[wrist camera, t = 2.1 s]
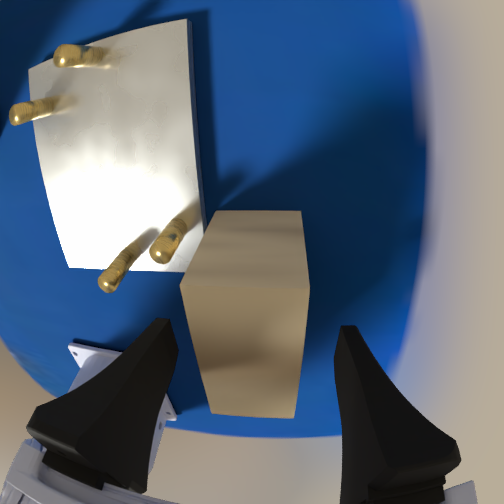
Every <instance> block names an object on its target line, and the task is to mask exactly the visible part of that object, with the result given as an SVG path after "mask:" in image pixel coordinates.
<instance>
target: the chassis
mask: <svg viewBox="0 0 504 504" xmlns="http://www.w3.org/2000/svg"><path fill="white" fill-rule="evenodd" d="M29 87H30V98H31V101H27V102H23V103H19V104H15V105H13V106H12V107H11V109H10V112H9V119H10V122H11V123H12V124H13V125H19V124H22V123H25V122H28V121H32V120H33V124H34V131H35V138H36V144H37V150H38V155H39V160H40V165H41V170H42V175H43V179H44V184H45V188H46V192H47V196H48V200H49V204H50V208H51V211H52V215H53V218H54V222H55V225H56V229H57V232H58V235H59V238H60V241H61V244H62V247H63V250H64V253H65V256H66V259H67V262H68V265H69V267H80V268H99V269H105V270H104V272H103V273H102V274H101V275H100V277H99V278H98V285H99V286H100V288H101V289H102V290H103V291H105V292H107V293H112V292H114V291H115V289H116V288H117V287H118V285H119V284H120V282H121V281H122V279H123V278H124V277H125V275H126V274H127V272H128V271H129V270H143V271H168V272H186V270H187V268H188V266H189V264H190V262H191V260H192V258H193V256H194V254H195V252H196V250H197V248H198V246H199V243H200V241H201V239H202V237H203V235H204V233H205V231H206V229H207V220H206V211H205V201H204V191H203V181H202V170H201V159H200V148H199V135H198V122H197V109H196V94H195V77H194V58H193V35H192V22H191V21H189V20H188V19H183V20H177V21H172V22H167V23H162V24H157V25H153V26H148V27H144V28H140V29H136V30H132V31H129V32H125V33H121V34H118V35H115V36H111V37H108V38H105V39H102V40H99V41H96V42H93V43H90V44H87V45H71V44H63V45H61V46H59V47H58V48H57V49H56V51H55V53H54V56H53V58H52V59H50V60H47V61H45V62H43V63H41V64H39V65H37V66H35V67H33V68H31V69H29Z"/></svg>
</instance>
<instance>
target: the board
mask: <svg viewBox="0 0 504 504" xmlns="http://www.w3.org/2000/svg"><path fill="white" fill-rule="evenodd" d="M180 289H181V294H182V298H183V303H184V307H185V312H186V316H187V321H188V325H189V329H190V334H191V338H192V342H193V346H194V350H195V354H196V358H197V362H198V366H199V369H200V373H201V377H202V381H203V384H204V388H205V391H206V395H207V399H208V402H209V405H210V409H211V412H212V413H213V414H223V415H234V416H248V417H266V418H294V413H295V407H296V400H297V394H298V387H299V379H300V372H301V365H302V357H303V349H304V340H305V332H306V323H307V313H308V303H309V293H310V284H309V275H308V266H307V257H306V248H305V240H304V232H303V224H302V216H301V211H216V212H215V214H214V215H213V217H212V219H211V221H210V223H209V225H208V227H207V229H206V231H205V233H204V235H203V237H202V239H201V241H200V243H199V246H198V248H197V250H196V252H195V254H194V256H193V258H192V260H191V262H190V264H189V266H188V268H187V270H186V272H185V274H184V277H183V279H182V281H181V283H180Z"/></svg>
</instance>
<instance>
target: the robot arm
mask: <svg viewBox="0 0 504 504" xmlns="http://www.w3.org/2000/svg"><path fill="white" fill-rule="evenodd" d="M68 348H69V350H70V351H71V353H72V355H73V357H74V358H75V360H76V361H77V363H78V365H79V366H80V368H81V369H80V370H79V372H78V374H77V376H76V378H75V380H74V381H73V383H72V385H71V387H70V389H69V391H68V393H67V394H65V395H63V396H61V397H59V398H57V399H54V400H52V401H50V402H48V403H45V404H42V405H40V406H38V407H36V409H35V411H34V413H33V415H32V417H31V419H30V421H29V422H28V424H27V426H26V429H27V431H28V433H29V434H30V435H31V436H32V437H33V438H32V439H25V440H24V442H23V443H22V444H21V446H20V448H19V450H18V452H17V454H16V456H15V458H14V460H13V462H12V464H11V467H10V469H9V471H8V474H7V477H6V479H5V482H4V485H3V489H2V493H1V496H0V504H178V503H174V502H169V501H165V500H161V499H157V498H153V497H149V496H145V495H142V493H144V492H146V491H147V479H148V474H149V473H150V472H151V470H152V468H153V465H154V461H155V458H156V454H157V450H158V447H159V444H160V440H161V437H162V434H163V430H164V427H165V423H166V420H172V421H175V420H176V419H177V415H176V413H175V411H174V409H173V407H172V405H171V402H170V400H169V398H168V396H167V394H166V392H167V389H168V387H169V384H170V381H171V378H172V376H173V373H174V370H175V365H176V361H177V356H178V351H179V350H178V346H177V343H176V340H175V336H174V333H173V329H172V326H171V322H170V319H164V318H156V319H155V320H154V321H153V322H152V323H151V324H150V325H149V326H148V327H147V328H146V329H145V330H144V331H143V332H142V334H141V335H140V336H139V337H138V338H137V339H136V340H135V341H134V342H133V343H132V344H131V345H130V346H129V347H128V348H127V349H126V350H125V351H124V352H117V351H112V350H106V349H101V348H96V347H91V346H86V345H81V344H76V343H70V344H69V346H68ZM334 374H335V384H336V390H337V397H338V403H339V410H340V417H341V425H342V481H341V495H340V504H478V503H477V497H476V491H475V486H474V481H472V480H471V481H469V482H466V483H463V484H460V485H457V486H454V487H451V488H449V489H446V490H443V485H444V484H445V483H446V480H445V475H446V474H448V473H449V472H451V471H452V470H453V469H454V468H456V467H457V466H458V465H459V463H460V462H461V457H460V452H459V448H458V446H457V443H456V440H454V439H453V438H451V437H450V436H448V435H447V434H445V433H444V432H443V431H441V430H440V429H438V428H437V427H436V426H435V425H433V424H432V423H431V422H429V420H427V419H426V418H425V417H424V416H423V415H422V414H421V413H420V412H419V411H418V410H417V409H416V408H415V407H413V406H412V404H411V403H410V402H409V401H408V400H407V399H406V398H405V397H404V396H403V395H402V394H401V392H399V390H398V389H397V388H396V386H395V385H394V384H393V383H392V381H391V380H390V379H389V377H388V376H387V375H386V373H385V372H384V370H383V369H382V368H381V366H380V365H379V363H378V362H377V360H376V359H375V357H374V356H373V354H372V352H371V351H370V349H369V347H368V346H367V344H366V342H365V341H364V339H363V337H362V335H361V334H360V332H359V330H358V328H357V327H356V326H355V325H350V326H341V328H340V332H339V337H338V341H337V346H336V350H335V354H334Z"/></svg>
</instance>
